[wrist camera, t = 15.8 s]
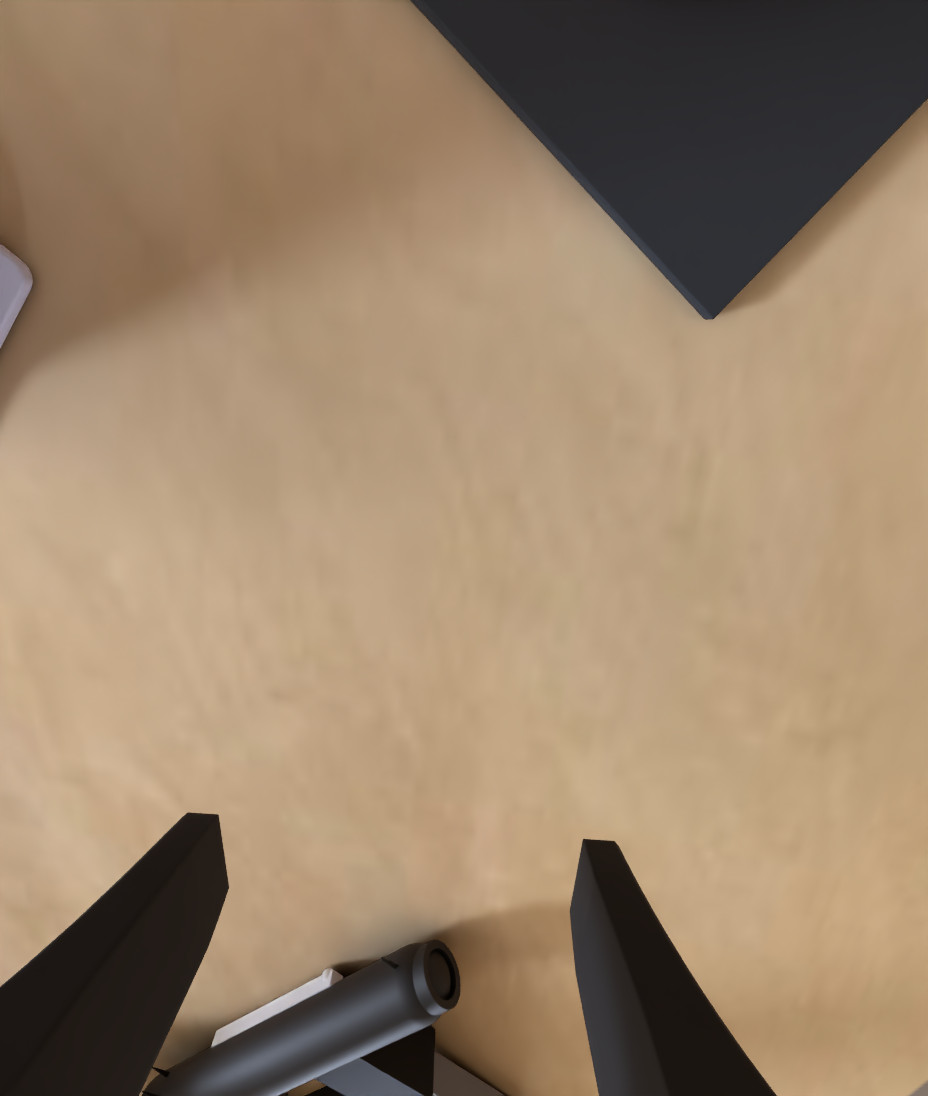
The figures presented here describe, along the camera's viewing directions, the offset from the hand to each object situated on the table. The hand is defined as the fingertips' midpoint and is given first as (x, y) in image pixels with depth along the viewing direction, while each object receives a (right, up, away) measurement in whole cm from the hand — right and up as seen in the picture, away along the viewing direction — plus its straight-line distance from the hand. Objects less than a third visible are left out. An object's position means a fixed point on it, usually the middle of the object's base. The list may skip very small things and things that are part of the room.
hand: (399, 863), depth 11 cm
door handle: (-4, -21, +19) cm, 29 cm away
